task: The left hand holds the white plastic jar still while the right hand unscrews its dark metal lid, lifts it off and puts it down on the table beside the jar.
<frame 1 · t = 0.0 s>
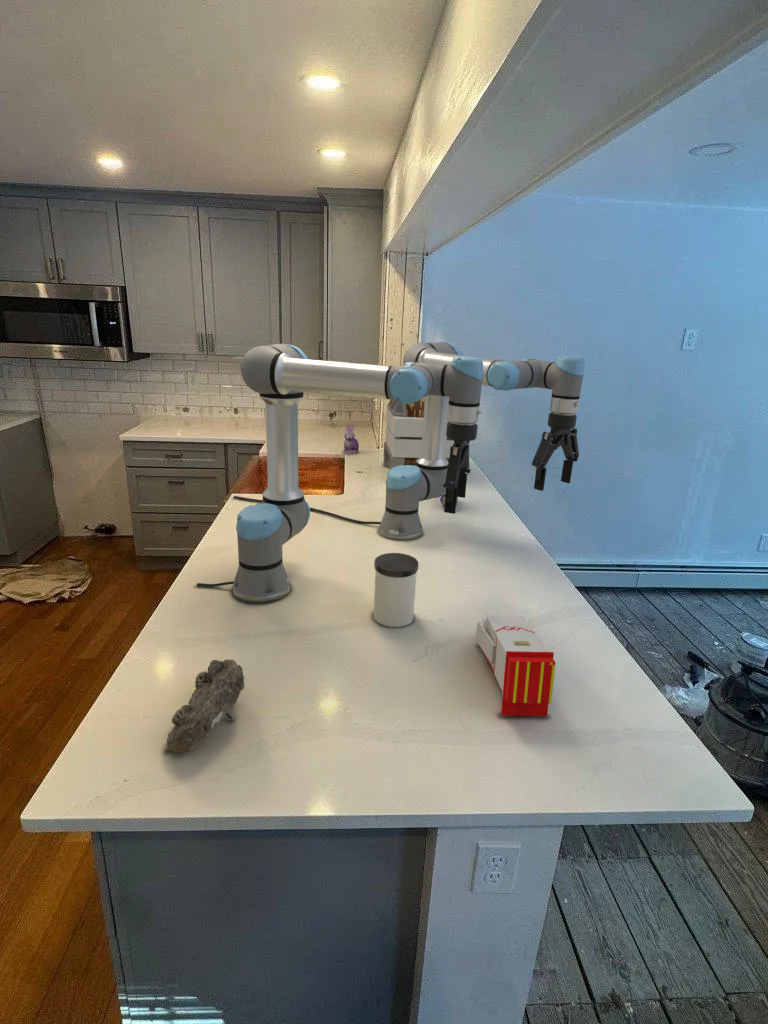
left hand: (455, 504, 146), 28 cm above the counter, tool pointing down, fingers open, 13 cm apart
right hand: (552, 485, 166), 28 cm above the counter, tool pointing down, fingers open, 13 cm apart
toy: (507, 674, 125), on the counter
figurine character: (447, 505, 232), on the counter
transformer: (419, 473, 275), on the counter
figurine: (350, 452, 308), on the counter
lid: (396, 563, 141), point 15 cm above the counter, screwed on, not yet turned
jar: (393, 616, 146), on the counter
fossil: (212, 717, 108), on the counter
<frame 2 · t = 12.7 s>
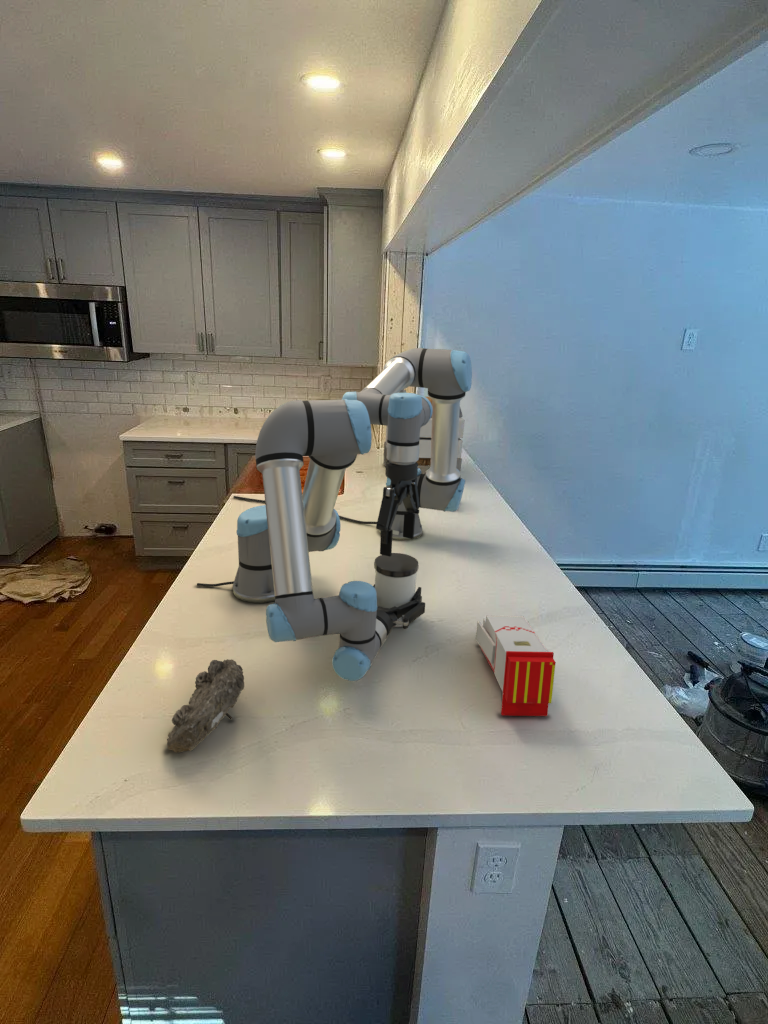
left hand: (399, 587, 148), 6 cm above the counter, tool horizontal, fingers closed on jar, 10 cm apart
right hand: (397, 546, 140), 20 cm above the counter, tool pointing down, fingers open, 12 cm apart
jar: (393, 616, 146), on the counter, touching left hand
everything else where it was.
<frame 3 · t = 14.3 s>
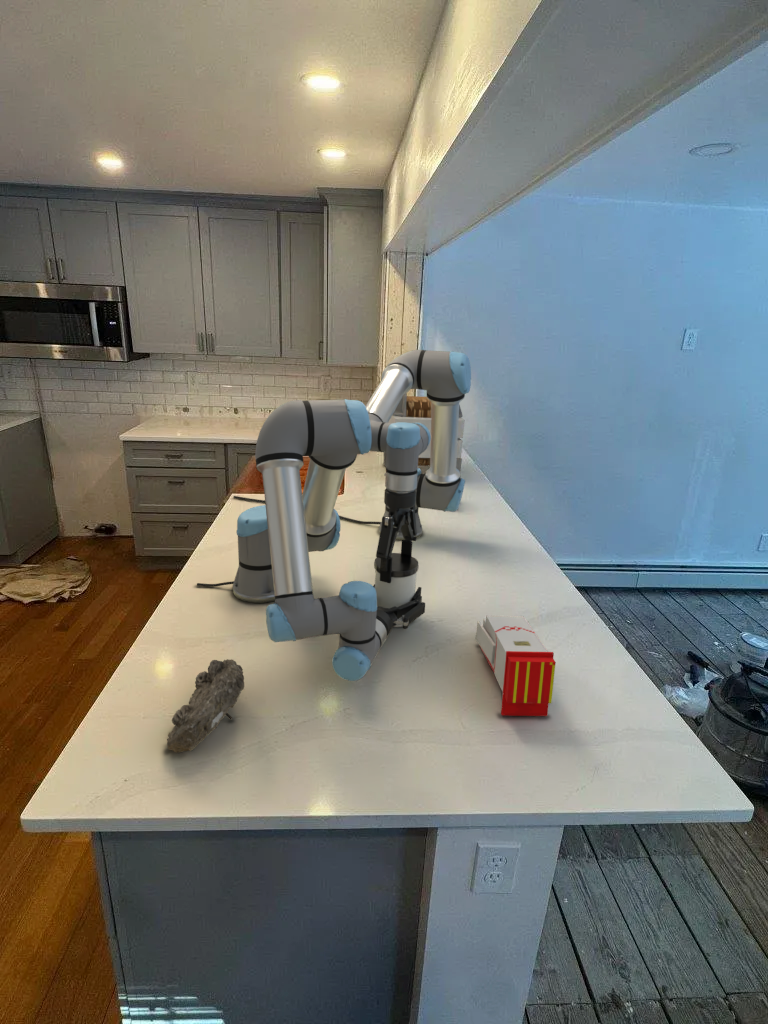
left hand: (399, 588, 148), 6 cm above the counter, tool horizontal, fingers closed on jar, 10 cm apart
right hand: (395, 572, 142), 13 cm above the counter, tool pointing down, fingers closed on lid, 11 cm apart
lid: (396, 563, 141), point 15 cm above the counter, screwed on, not yet turned, touching right hand
jar: (393, 616, 146), on the counter, touching left hand
everything else where it was.
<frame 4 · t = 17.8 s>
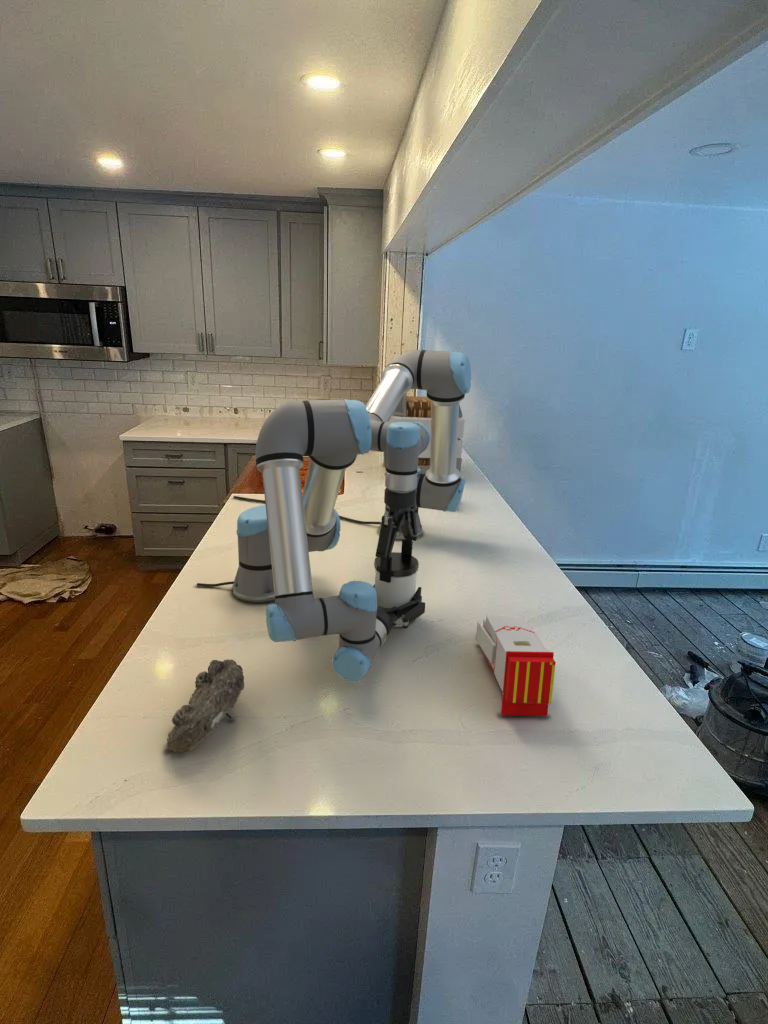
left hand: (399, 587, 148), 6 cm above the counter, tool horizontal, fingers closed on jar, 10 cm apart
right hand: (395, 572, 142), 13 cm above the counter, tool pointing down, fingers closed on lid, 11 cm apart
lid: (396, 562, 141), point 15 cm above the counter, turned 134° so far, risen 0.2 cm, still on its thread, touching right hand
jar: (393, 616, 146), on the counter, touching left hand
everything else where it was.
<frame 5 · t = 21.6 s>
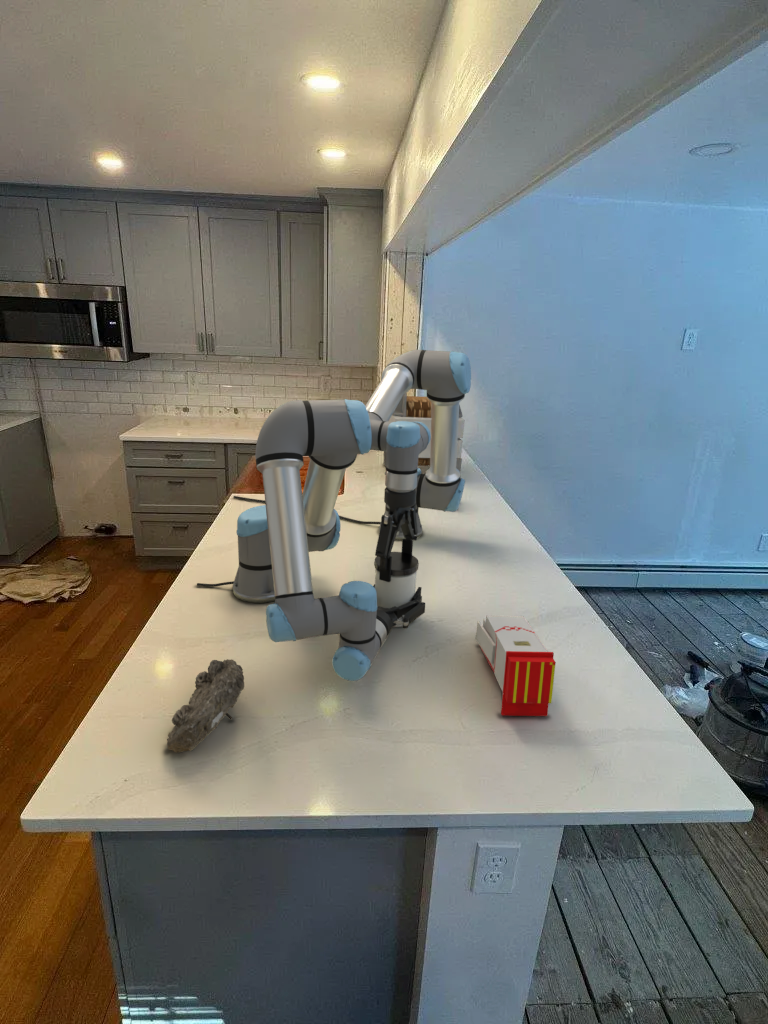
left hand: (399, 587, 148), 6 cm above the counter, tool horizontal, fingers closed on jar, 10 cm apart
right hand: (395, 571, 142), 13 cm above the counter, tool pointing down, fingers closed on lid, 11 cm apart
lid: (396, 561, 141), point 15 cm above the counter, turned 268° so far, risen 0.3 cm, still on its thread, touching right hand
jar: (393, 616, 146), on the counter, touching left hand
everything else where it was.
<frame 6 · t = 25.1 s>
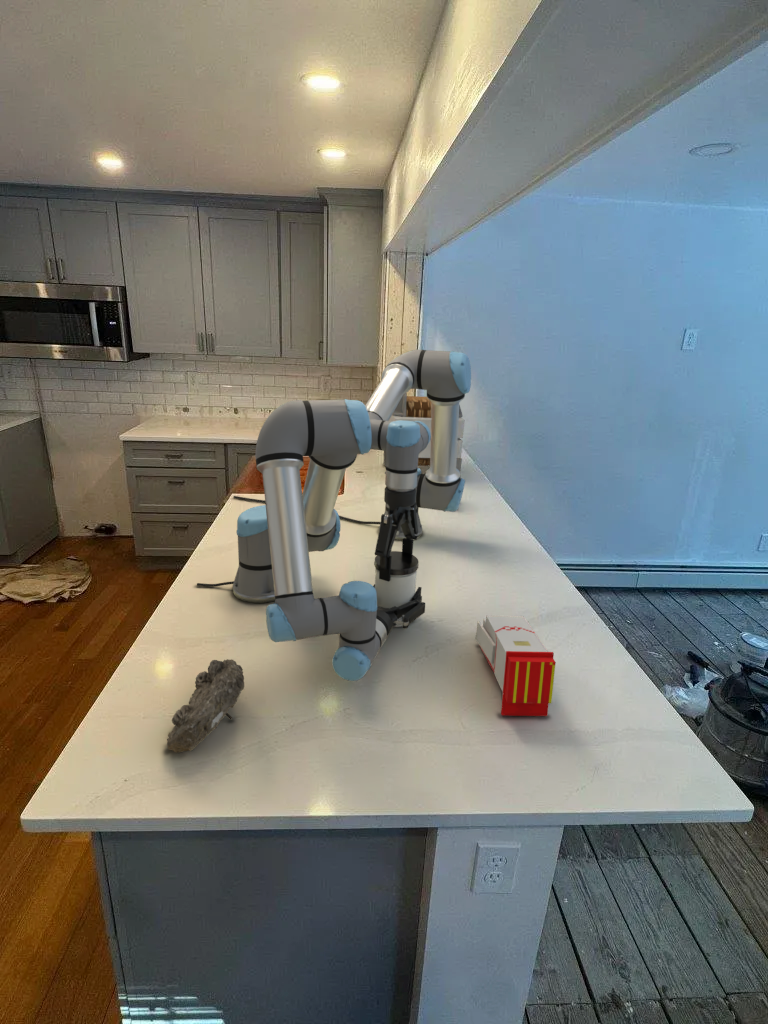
left hand: (399, 587, 148), 6 cm above the counter, tool horizontal, fingers closed on jar, 10 cm apart
right hand: (395, 571, 142), 13 cm above the counter, tool pointing down, fingers closed on lid, 11 cm apart
lid: (396, 561, 141), point 16 cm above the counter, turned 402° so far, risen 0.5 cm, still on its thread, touching right hand
jar: (393, 616, 146), on the counter, touching left hand
everything else where it was.
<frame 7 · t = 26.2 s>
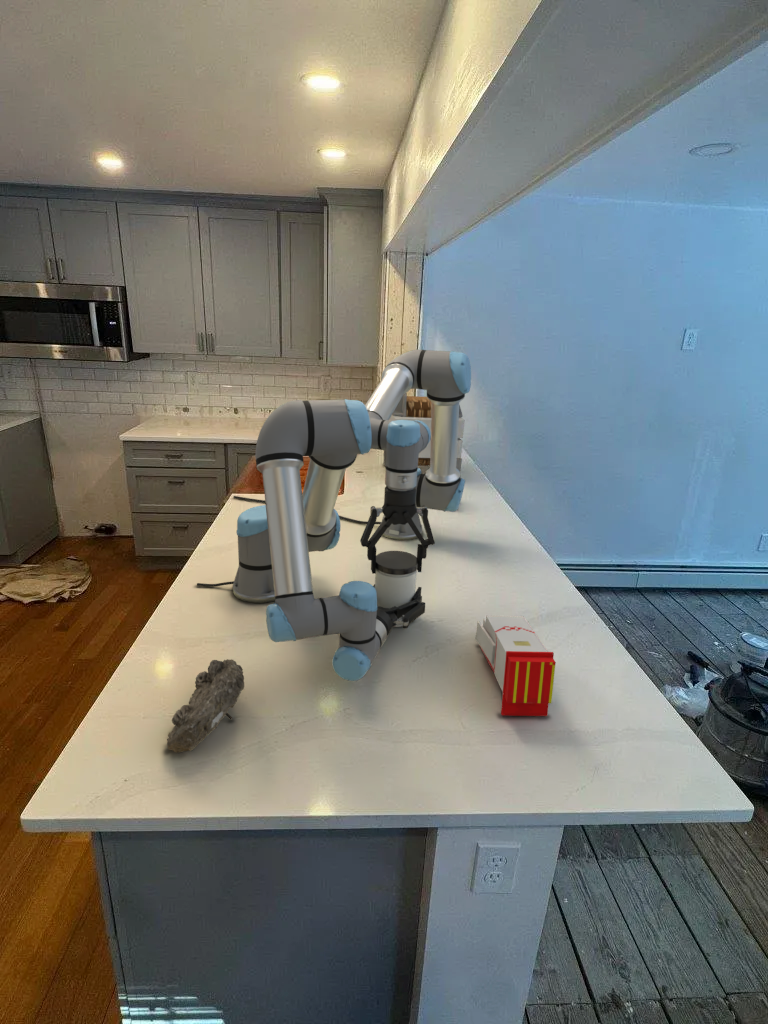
left hand: (399, 587, 148), 6 cm above the counter, tool horizontal, fingers closed on jar, 10 cm apart
right hand: (396, 570, 142), 13 cm above the counter, tool pointing down, fingers closed on lid, 11 cm apart
lid: (396, 560, 141), point 16 cm above the counter, off its thread, touching right hand
jar: (393, 616, 146), on the counter, touching left hand
everything else where it was.
when the right hand's fingers open (0 cm above the counter, at t = 31.8 s): lid drops 2 cm, point 1 cm above the counter.
when the left hand's fingers open (6 cm above the counter, at t = 32.8 s): jar stays where it is, on the counter.
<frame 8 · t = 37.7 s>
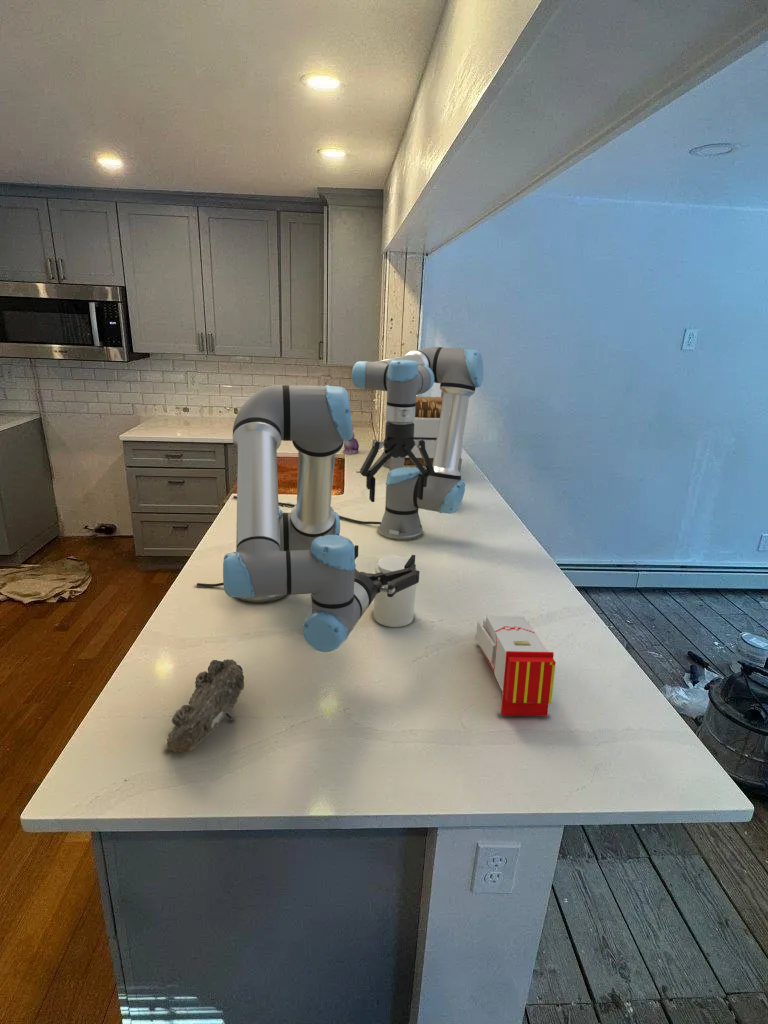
left hand: (384, 555, 130), 22 cm above the counter, tool horizontal, fingers open, 13 cm apart
right hand: (396, 499, 154), 26 cm above the counter, tool pointing down, fingers open, 13 cm apart
lid: (391, 580, 162), point 1 cm above the counter, off its thread
jar: (393, 616, 146), on the counter
everything else where it was.
at the end: lid came off its thread; lid point 1.3 cm above the counter; the left hand is holding nothing; the right hand is holding nothing; jar tilted 0°; jar moved 0.0 cm from its start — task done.
